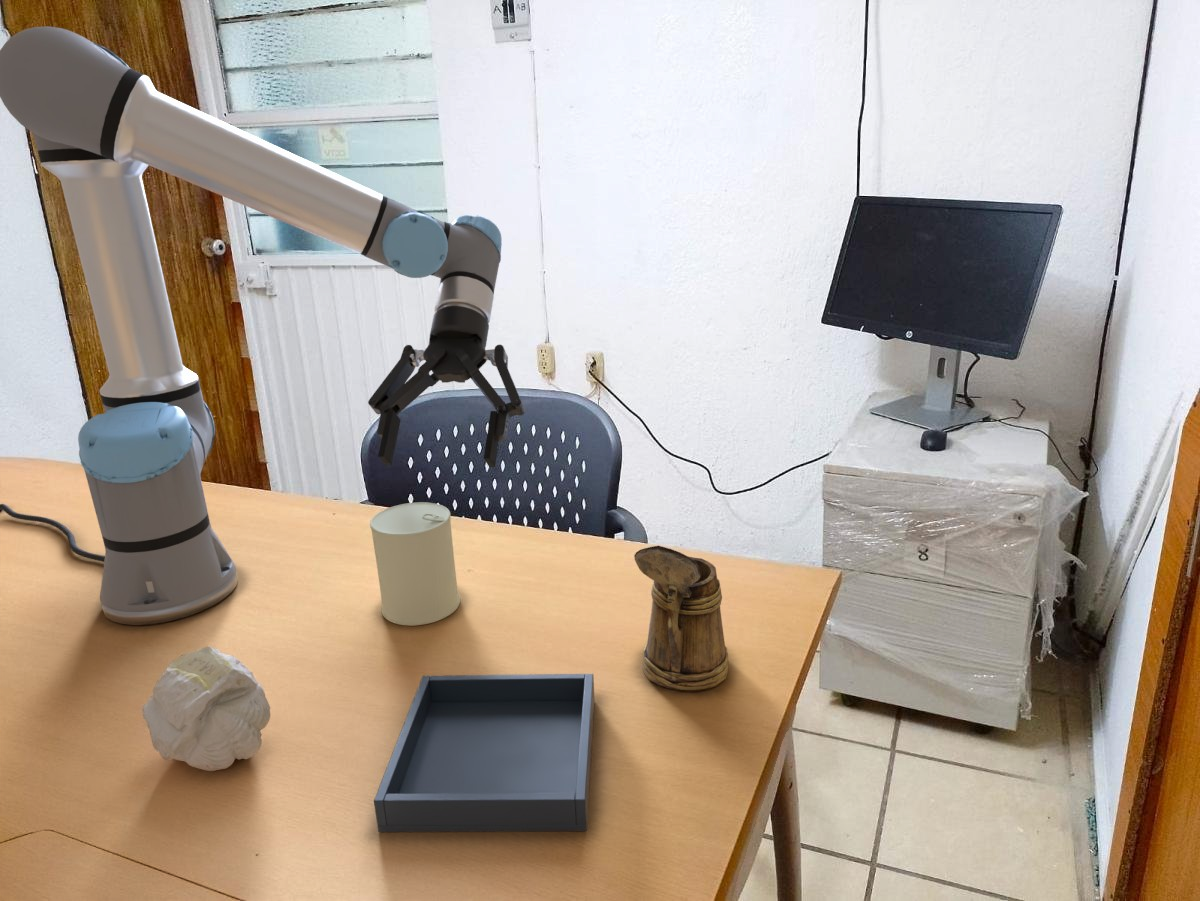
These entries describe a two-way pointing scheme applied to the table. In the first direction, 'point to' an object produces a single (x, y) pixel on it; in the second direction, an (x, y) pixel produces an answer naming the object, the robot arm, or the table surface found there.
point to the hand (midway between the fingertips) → (436, 462)
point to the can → (415, 563)
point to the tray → (492, 756)
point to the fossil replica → (207, 710)
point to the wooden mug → (683, 621)
